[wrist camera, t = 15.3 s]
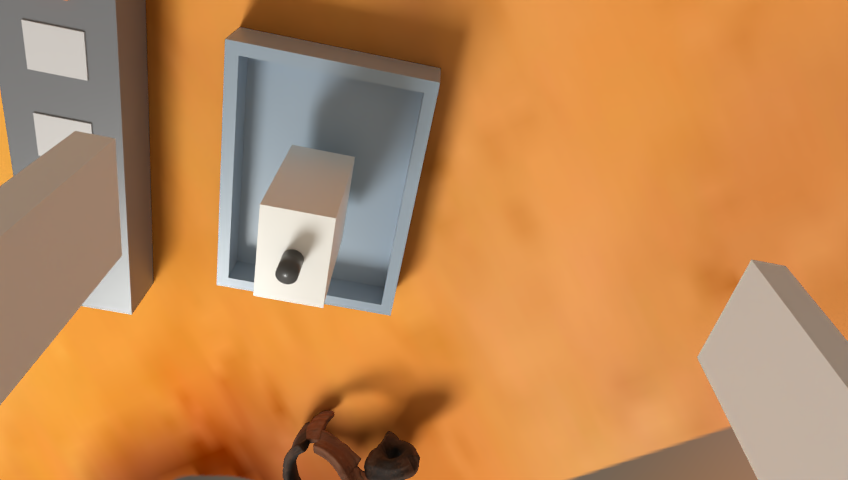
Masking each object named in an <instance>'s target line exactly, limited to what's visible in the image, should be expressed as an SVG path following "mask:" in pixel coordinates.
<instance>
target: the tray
mask: <svg viewBox="0 0 848 480" xmlns="http://www.w3.org/2000/svg"><path fill="white" fill-rule="evenodd" d="M440 75H441V68H437V67H432V66H427V65H422V64H418V63H413V62H408V61H403V60H398V59H393V58H388V57H384V56H379V55H374V54H369V53H364V52H359V51H354V50H350V49H345V48H340V47H335V46H330V45H325V44H320V43H316V42H311V41H306V40H301V39H296V38H291V37H286V36H281V35H277V34H272V33H267V32H262V31H257V30H252V29H247V28H243V27H239V28H238V29H237V30H235V31H234V32H233V33H232V34H231V35H229V36H228V37H227V38H226V39H225V60H224V88H223V117H222V146H221V175H220V204H219V233H218V262H217V285H220V286H226V287H231V288H237V289H243V290H248V291H254V278H255V265H256V251H257V237H258V223H259V209H260V203H261V201H262V199H263V198H264V196H265V194H266V192H267V190H268V188H269V186H270V185H271V183H272V181H273V179H274V177H275V175H276V173H277V172H278V170H279V168H280V166H281V164H282V162H283V160H284V159H285V157H286V155H287V153H288V151H289V149H290V147H291V146H292V145H296V146H301V147H307V148H312V149H317V150H322V151H327V152H332V153H337V154H343V155H348V156H353V157H355V160H354V166H353V173H352V179H351V186H350V193H349V199H348V206H347V212H346V219H345V225H344V232H343V237H342V241H341V245H340V248H339V252H338V256H337V259H336V263H335V267H334V270H333V274H332V277H331V281H330V285H329V288H328V292H327V296H326V299H325V303H324V304H328V305H333V306H339V307H345V308H351V309H356V310H362V311H368V312H373V313H379V314H385V315H391V310H392V306H393V301H394V296H395V292H396V287H397V282H398V278H399V273H400V268H401V264H402V259H403V254H404V250H405V245H406V240H407V236H408V231H409V226H410V222H411V217H412V212H413V208H414V203H415V198H416V194H417V189H418V184H419V180H420V175H421V170H422V166H423V161H424V156H425V152H426V147H427V142H428V138H429V133H430V128H431V124H432V119H433V114H434V110H435V105H436V100H437V96H438V91H439V86H440Z"/></svg>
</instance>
